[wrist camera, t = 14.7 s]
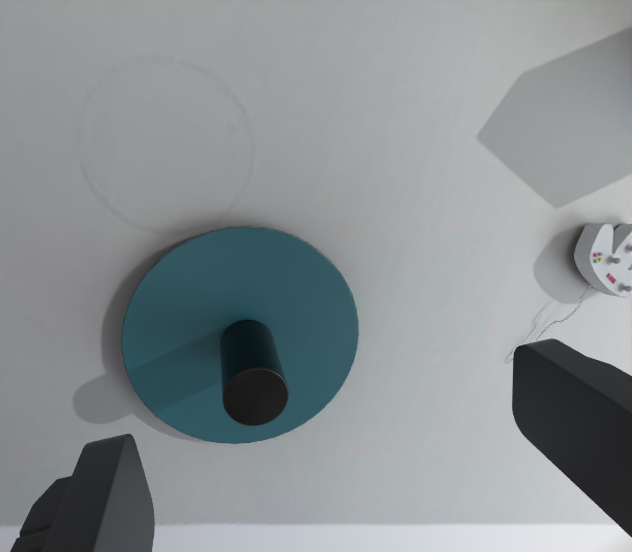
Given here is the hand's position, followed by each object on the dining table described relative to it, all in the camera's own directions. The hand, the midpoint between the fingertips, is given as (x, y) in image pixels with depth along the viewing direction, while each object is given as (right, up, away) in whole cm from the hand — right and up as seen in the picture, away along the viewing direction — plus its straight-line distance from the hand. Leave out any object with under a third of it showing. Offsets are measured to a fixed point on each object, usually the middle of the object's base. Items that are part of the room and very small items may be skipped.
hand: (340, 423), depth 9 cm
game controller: (+17, +2, +22) cm, 28 cm away
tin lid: (-5, -1, +17) cm, 18 cm away
